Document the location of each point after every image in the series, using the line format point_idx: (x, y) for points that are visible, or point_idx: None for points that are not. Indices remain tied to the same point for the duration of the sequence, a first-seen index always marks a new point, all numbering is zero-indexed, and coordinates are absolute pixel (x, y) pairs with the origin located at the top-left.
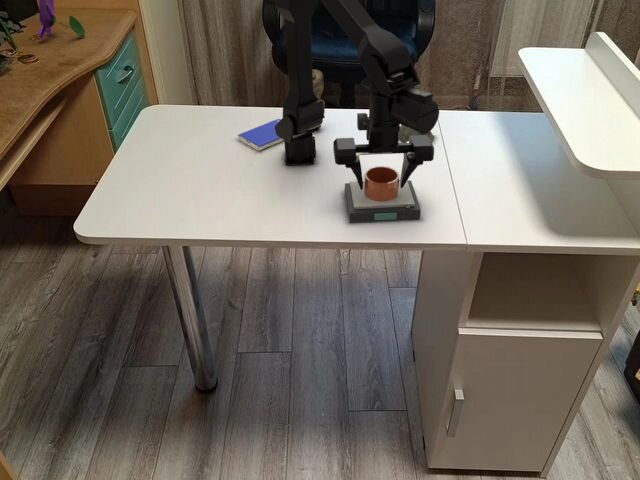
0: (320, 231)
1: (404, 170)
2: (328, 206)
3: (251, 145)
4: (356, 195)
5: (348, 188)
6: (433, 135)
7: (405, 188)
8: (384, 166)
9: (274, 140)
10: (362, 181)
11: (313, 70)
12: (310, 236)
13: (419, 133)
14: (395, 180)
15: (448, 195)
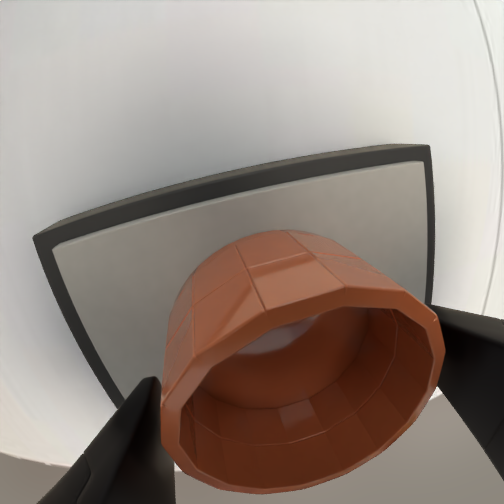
0: (86, 446)
1: (483, 411)
2: (38, 335)
3: None
4: (138, 382)
5: (67, 292)
6: None
7: (409, 265)
8: (363, 293)
9: None
10: (173, 480)
11: None
12: (75, 457)
13: None
14: (398, 436)
15: (490, 183)
